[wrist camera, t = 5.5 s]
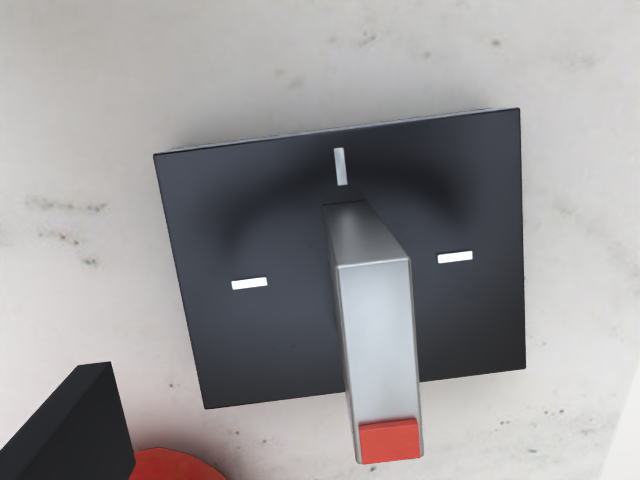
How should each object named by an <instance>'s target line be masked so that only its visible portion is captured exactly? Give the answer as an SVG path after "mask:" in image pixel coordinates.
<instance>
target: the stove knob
mask: <svg viewBox="0 0 640 480" xmlns="http://www.w3.org/2000/svg"><path fill="white" fill-rule="evenodd" d="M323 215H324V224H325V233H326V242H327V251H328V260H329V269H330V277H331V286H332V295H333V304H334V313H335V322H336V331H337V339H338V345H339V352H340V358H341V365H342V372H343V378H344V385H345V391H346V398H347V405H348V411H349V418H350V424H351V431H352V438H353V444H354V451H355V458H356V461H357V463H358V464H371V463H380V462H388V461H397V460H405V459H414V458H420V457H422V456H423V454H424V445H423V430H422V416H421V401H420V387H419V372H418V358H417V343H416V329H415V314H414V300H413V285H412V271H411V259H410V257H409V256H408V255H407V253H406V252H405V250H404V249H403V248H402V246H401V245H400V244H399V242H398V241H397V240H396V238H395V237H394V236H393V234H392V233H391V231H390V230H389V229H388V227H387V226H386V225H385V223H384V222H383V221H382V219H381V218H380V216H379V215H378V214H377V212H376V211H375V210H374V208H373V207H372V206H371V204H370V203H369V202H368V201H357V202H348V203H340V204H331V205H324V206H323Z"/></svg>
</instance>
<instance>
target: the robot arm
mask: <svg viewBox="0 0 640 480" xmlns="http://www.w3.org/2000/svg"><path fill="white" fill-rule="evenodd" d="M135 465H136V460H135V456H134V452H133V448H132V444H131V440H130V436H129V432H128V428H127V424H126V420H125V416H124V412H123V408H122V404H121V400H120V396H119V392H118V388H117V384H116V380H115V376H114V373H113V369H112V365H111V361H110V362H101V363H93V364H85V365H78V366H77V367H76V368H75V369H74V370H73V371H72V372H71V373H70V374H69V376H68V377H67V378H66V379H65V380H64V381H63V382H62V383H61V384H60V385H59V387H58V388H57V389H56V390H55V391H54V392H53V393H52V394H51V395H50V396H49V398H48V399H47V400H46V401H45V402H44V403H43V404H42V405H41V406H40V407H39V409H38V410H37V411H36V412H35V413H34V414H33V415H32V416H31V417H30V418H29V420H28V421H27V422H26V423H25V424H24V425H23V426H22V427H21V428H20V429H19V431H18V432H17V433H16V434H15V435H14V436H13V437H12V438H11V439H10V440H9V442H8V443H7V444H6V445H5V446H4V447H3V448H2V449H1V450H0V480H129V478H130V476H131V474H132V472H133V470H134V467H135Z"/></svg>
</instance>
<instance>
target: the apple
mask: <svg viewBox="0 0 640 480" xmlns="http://www.w3.org/2000/svg"><path fill="white" fill-rule="evenodd" d="M134 456H135V460H136V465H135V467H134V470H133V472H132V474H131V476H130V478H129V480H227V479H226V478H225V477H224V476H223V475H222V474H221V473H220V471H218V470H216V469H214V468H213V467H211V466H209V465H208V464H206V463H204V462H203V461H201V460H199V459H198V458H196V457H194V456H192V455H190V454H186V453H182V452H178V451H174V450H169V449H165V448H161V447H157V448H152V449H147V450H141V451H136V452H134Z"/></svg>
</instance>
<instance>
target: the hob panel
mask: <svg viewBox="0 0 640 480" xmlns="http://www.w3.org/2000/svg"><path fill="white" fill-rule="evenodd" d="M153 159H154V164H155V169H156V174H157V179H158V184H159V189H160V194H161V199H162V204H163V208H164V213H165V218H166V223H167V228H168V233H169V238H170V243H171V248H172V253H173V258H174V262H175V267H176V272H177V277H178V282H179V287H180V292H181V297H182V302H183V307H184V311H185V316H186V321H187V326H188V331H189V336H190V341H191V346H192V351H193V356H194V361H195V365H196V370H197V375H198V380H199V385H200V390H201V395H202V400H203V405H204V408H205V409H206V410H207V409H215V408H223V407H231V406H238V405H246V404H254V403H262V402H270V401H278V400H285V399H293V398H301V397H309V396H317V395H325V394H332V393H340V392H346V391H345V385H344V378H343V372H342V365H341V358H340V352H339V345H338V339H337V331H336V322H335V313H334V304H333V295H332V286H331V277H330V269H329V260H328V251H327V242H326V233H325V224H324V215H323V206H324V205H331V204H340V203H348V202H357V201H368V202H369V203H370V204H371V206H372V207H373V208H374V210H375V211H376V212H377V214H378V215H379V216H380V218H381V219H382V221H383V222H384V223H385V225H386V226H387V227H388V229H389V230H390V231H391V233H392V234H393V236H394V237H395V238H396V240H397V241H398V242H399V244H400V245H401V246H402V248H403V249H404V250H405V252H406V253H407V255H408V256H409V257H410V259H411V271H412V285H413V300H414V314H415V329H416V343H417V358H418V372H419V382H427V381H434V380H442V379H450V378H458V377H466V376H474V375H481V374H489V373H497V372H505V371H513V370H521V369H526V345H525V301H524V258H523V214H522V171H521V127H520V108H518V107H516V108H488V109H480V110H472V111H464V112H456V113H449V114H441V115H433V116H425V117H417V118H409V119H401V120H393V121H386V122H378V123H370V124H362V125H354V126H346V127H338V128H330V129H323V130H315V131H307V132H299V133H291V134H283V135H275V136H268V137H260V138H252V139H244V140H236V141H228V142H220V143H212V144H205V145H197V146H189V147H181V148H173V149H170V150H166V151H162V152H159V153H155V154H153Z"/></svg>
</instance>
